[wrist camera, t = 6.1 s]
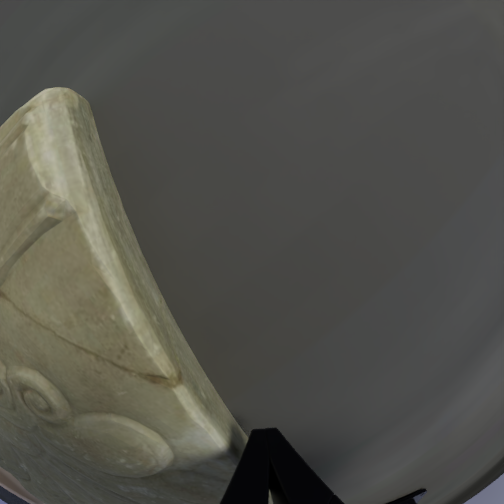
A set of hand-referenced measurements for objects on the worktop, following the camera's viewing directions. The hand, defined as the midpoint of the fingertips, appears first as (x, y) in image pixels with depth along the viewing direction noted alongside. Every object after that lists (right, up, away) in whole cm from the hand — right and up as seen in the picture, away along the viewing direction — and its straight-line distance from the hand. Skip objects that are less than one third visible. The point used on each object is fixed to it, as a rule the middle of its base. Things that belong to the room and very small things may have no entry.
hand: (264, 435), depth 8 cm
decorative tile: (-10, -2, +2) cm, 11 cm away
